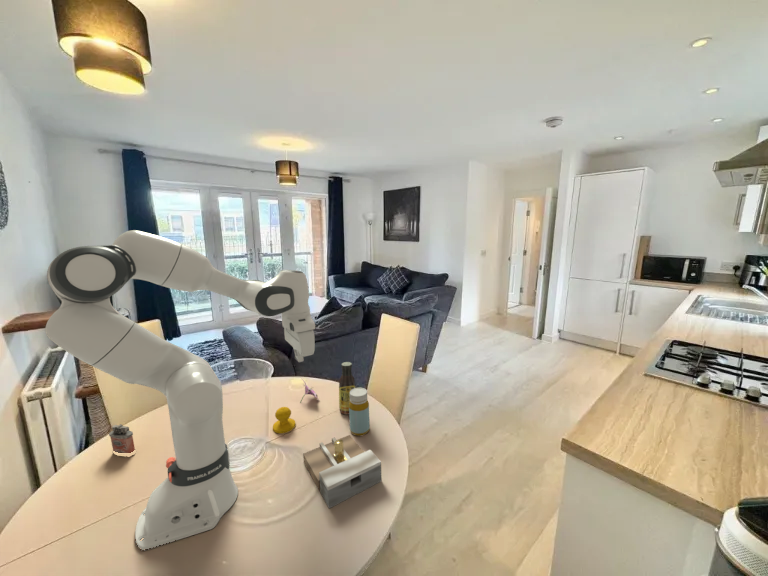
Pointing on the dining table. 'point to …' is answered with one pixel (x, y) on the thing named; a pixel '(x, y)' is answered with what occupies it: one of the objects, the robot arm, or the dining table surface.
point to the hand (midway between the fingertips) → (299, 360)
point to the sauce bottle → (345, 387)
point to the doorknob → (283, 421)
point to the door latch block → (342, 470)
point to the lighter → (122, 439)
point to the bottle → (359, 412)
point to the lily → (308, 390)
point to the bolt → (339, 451)
